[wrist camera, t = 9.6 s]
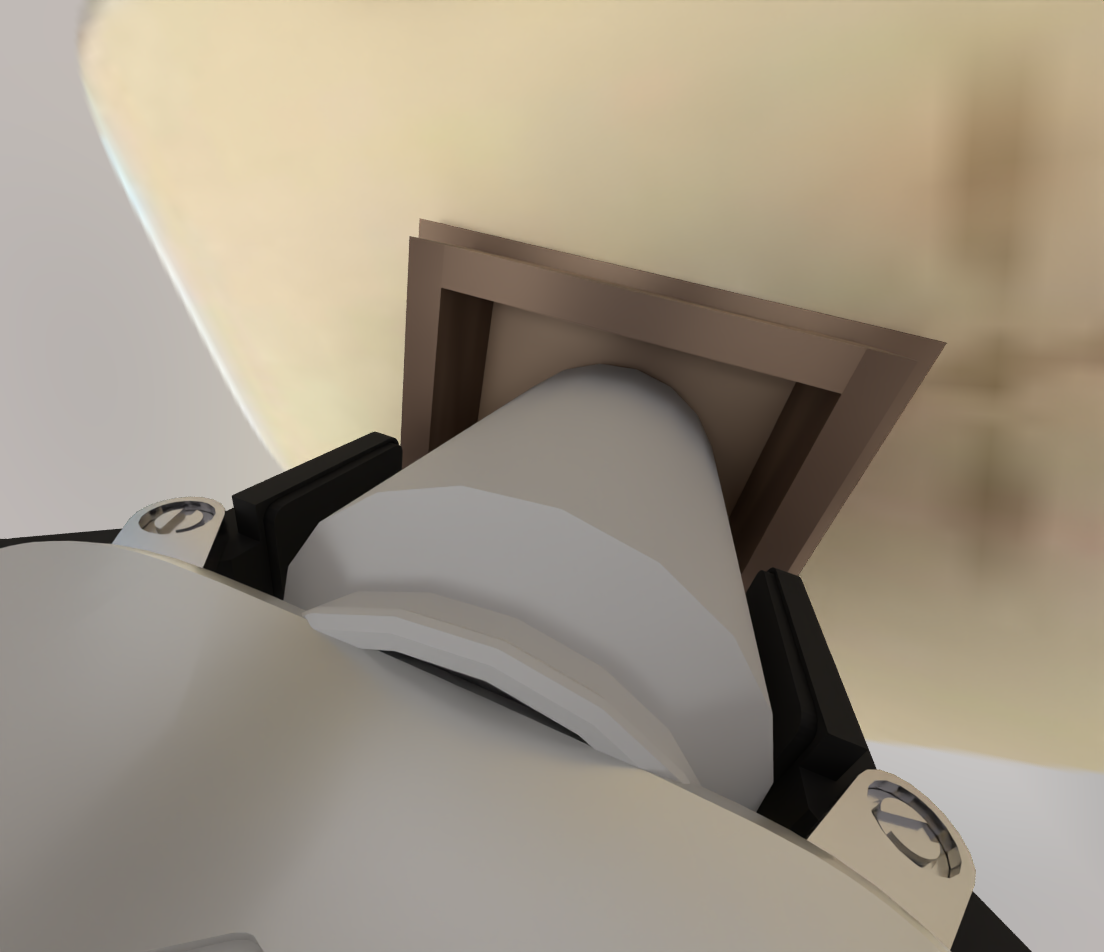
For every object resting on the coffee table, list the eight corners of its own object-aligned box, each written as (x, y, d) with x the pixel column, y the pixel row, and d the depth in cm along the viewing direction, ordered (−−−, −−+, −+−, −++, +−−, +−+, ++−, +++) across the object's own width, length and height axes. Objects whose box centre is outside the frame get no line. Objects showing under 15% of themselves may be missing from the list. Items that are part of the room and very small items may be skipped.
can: (516, 540, 18) (273, 908, 7) (499, 360, 15) (43, 528, 4) (701, 561, 16) (751, 1120, 5) (724, 358, 13) (963, 672, 2)
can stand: (924, 338, 12) (1047, 363, 8) (739, 640, 18) (755, 743, 14) (438, 223, 15) (342, 197, 11) (417, 519, 21) (351, 576, 17)
